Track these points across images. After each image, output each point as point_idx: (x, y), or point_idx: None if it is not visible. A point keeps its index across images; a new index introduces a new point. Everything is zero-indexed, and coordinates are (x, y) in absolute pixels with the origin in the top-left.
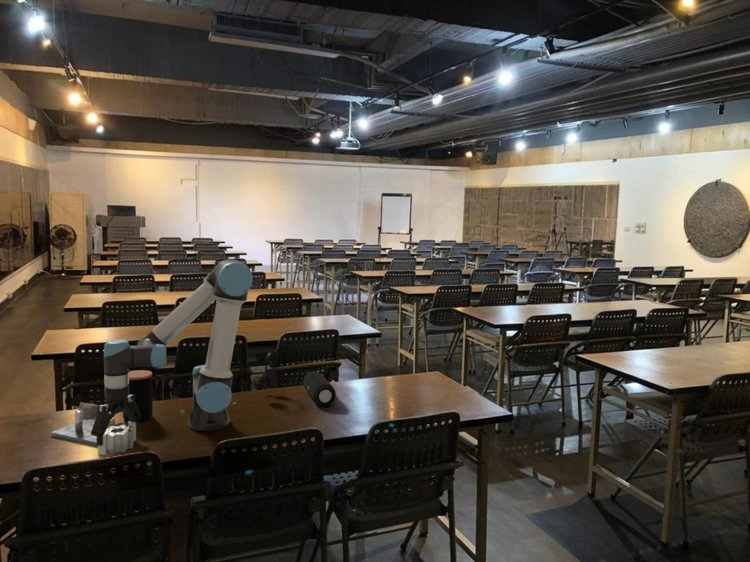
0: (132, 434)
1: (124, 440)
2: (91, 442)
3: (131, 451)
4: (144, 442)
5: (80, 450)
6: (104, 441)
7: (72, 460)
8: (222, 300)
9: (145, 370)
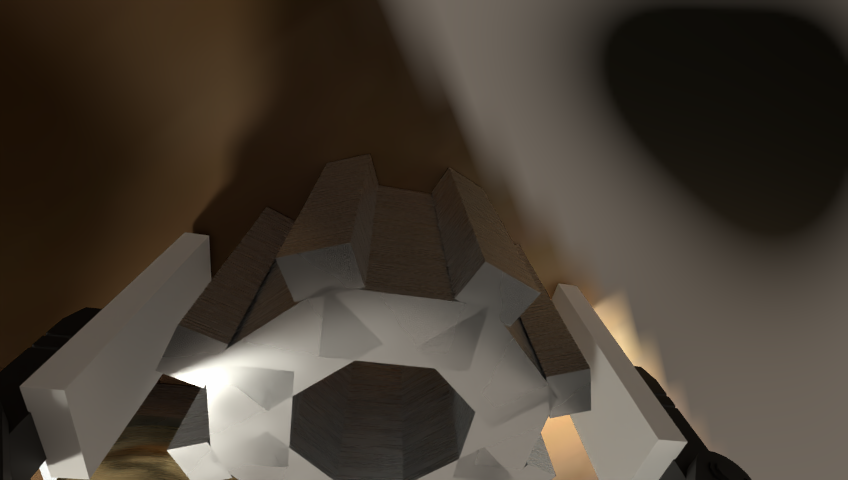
0: (326, 219)
1: (484, 226)
2: None
3: (439, 110)
4: (173, 117)
5: None
6: (639, 379)
7: None
8: None
9: None
